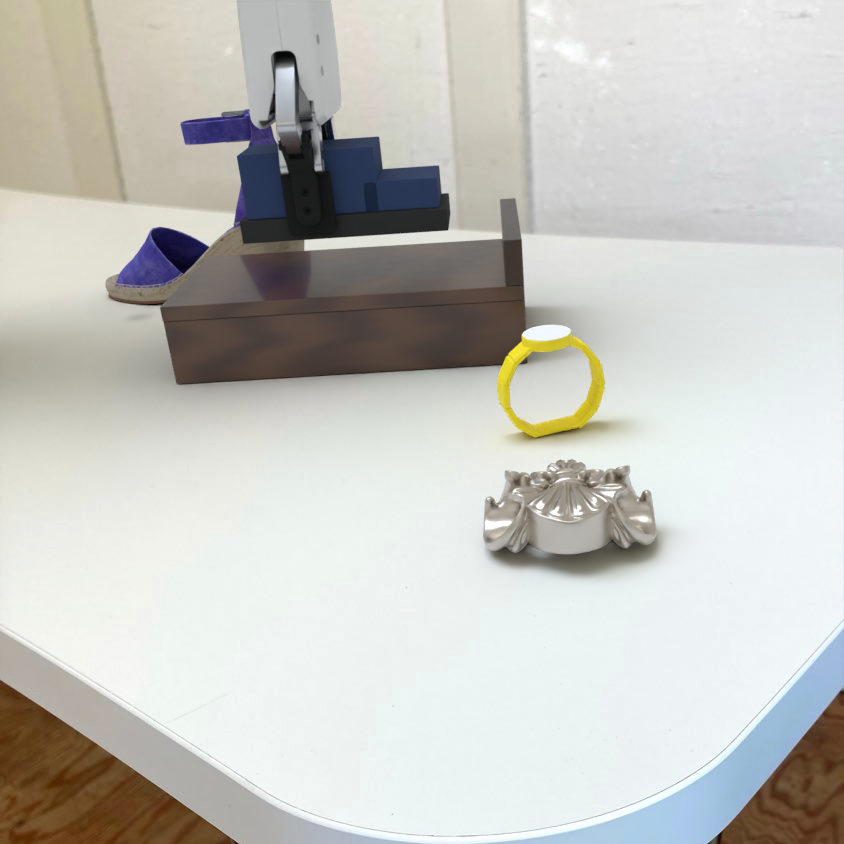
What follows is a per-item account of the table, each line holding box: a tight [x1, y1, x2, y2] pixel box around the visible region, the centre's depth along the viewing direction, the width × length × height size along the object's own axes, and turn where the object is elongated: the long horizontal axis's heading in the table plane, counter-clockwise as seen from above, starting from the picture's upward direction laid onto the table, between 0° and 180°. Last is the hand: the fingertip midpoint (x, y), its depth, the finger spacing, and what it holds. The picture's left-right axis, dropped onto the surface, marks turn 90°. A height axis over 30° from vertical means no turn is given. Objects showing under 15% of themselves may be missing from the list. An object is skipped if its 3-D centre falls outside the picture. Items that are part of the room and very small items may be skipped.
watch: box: [496, 324, 606, 439], centre depth 60 cm, size 6×3×6 cm, turn 106°
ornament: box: [482, 458, 658, 555], centre depth 49 cm, size 8×7×4 cm
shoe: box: [236, 136, 451, 244], centre depth 73 cm, size 14×6×6 cm, turn 91°
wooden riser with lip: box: [159, 197, 529, 385], centre depth 76 cm, size 24×14×8 cm, turn 91°
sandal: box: [105, 108, 305, 305], centre depth 89 cm, size 8×20×15 cm, turn 64°
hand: (319, 221), depth 74 cm, fingers closed on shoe, 5 cm apart
